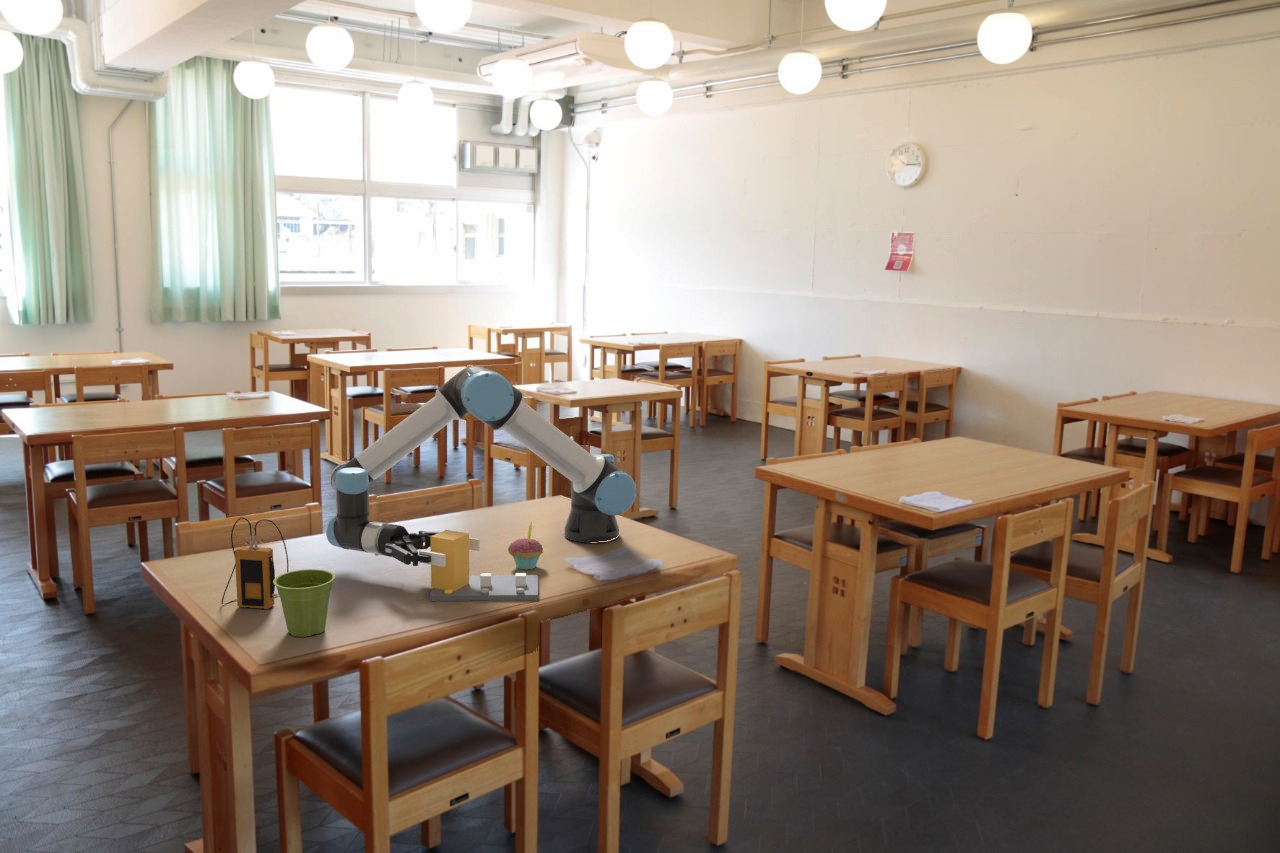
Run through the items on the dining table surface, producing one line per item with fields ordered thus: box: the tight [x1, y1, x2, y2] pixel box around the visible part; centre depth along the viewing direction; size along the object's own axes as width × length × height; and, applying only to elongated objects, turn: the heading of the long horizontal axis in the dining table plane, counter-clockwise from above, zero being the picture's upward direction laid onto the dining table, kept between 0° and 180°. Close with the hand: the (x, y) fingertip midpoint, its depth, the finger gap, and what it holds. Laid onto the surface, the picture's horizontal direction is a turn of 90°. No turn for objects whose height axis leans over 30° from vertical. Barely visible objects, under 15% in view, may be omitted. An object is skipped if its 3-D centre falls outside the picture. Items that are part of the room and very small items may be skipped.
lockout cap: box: [430, 529, 470, 591], centre depth 227 cm, size 6×6×12 cm
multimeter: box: [220, 517, 289, 610], centre depth 216 cm, size 15×10×20 cm
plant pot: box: [273, 568, 336, 638], centre depth 201 cm, size 12×12×11 cm
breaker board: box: [429, 572, 539, 602], centre depth 229 cm, size 24×14×4 cm, turn 96°
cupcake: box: [507, 521, 544, 570], centre depth 245 cm, size 9×8×12 cm
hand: (462, 552), depth 225 cm, fingers open, 13 cm apart
